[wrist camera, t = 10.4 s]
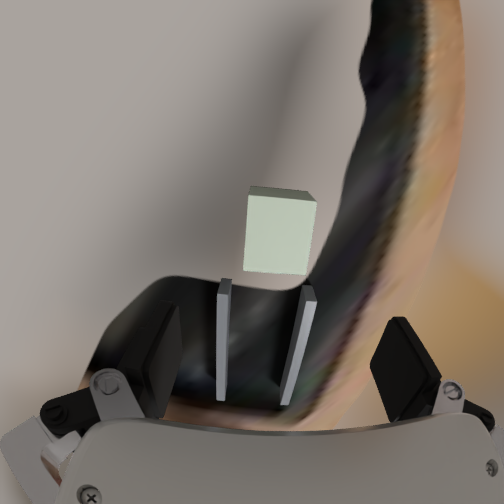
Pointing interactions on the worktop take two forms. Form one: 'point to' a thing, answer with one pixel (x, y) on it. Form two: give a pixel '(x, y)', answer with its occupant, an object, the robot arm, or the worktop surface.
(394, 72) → the worktop surface
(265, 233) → the block
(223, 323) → the channel
